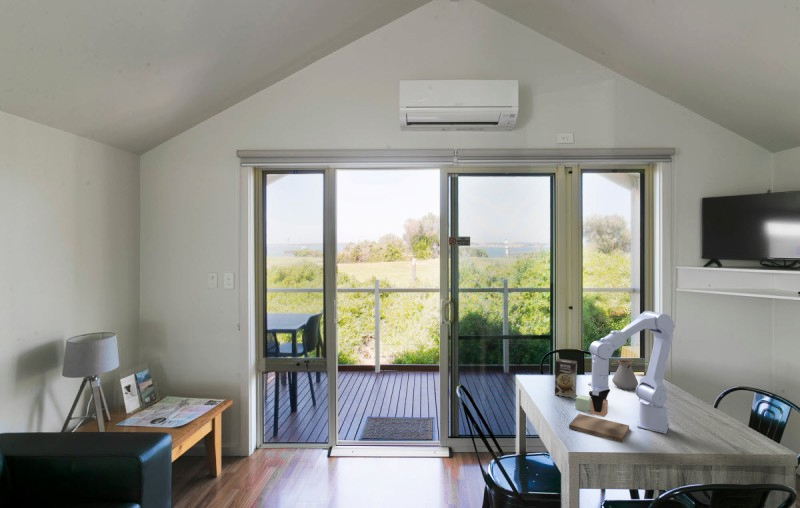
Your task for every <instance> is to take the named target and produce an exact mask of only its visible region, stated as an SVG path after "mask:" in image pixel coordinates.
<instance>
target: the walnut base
mask: <svg viewBox="0 0 800 508" xmlns="http://www.w3.org/2000/svg"><path fill="white" fill-rule="evenodd" d="M568 429H570V430H572V431H573V430H574V431H577V432H581V433H584V434H587V435H593V436H597V437H599V438H603V439H608V440H611V441H615V442H618V443H623V442H624V441H625V438H626V437H627V435H628V433H629V430H630V425H629V424H625V423H621V422H617V421H612V420H608V419H603V418H599V417H595V416H590V415H587V414H583V413H578V414H577V415H576V416H575V418H573V419H572V421H570V423H569V424H568Z"/></svg>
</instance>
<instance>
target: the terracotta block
mask: <svg viewBox="0 0 800 508" xmlns="http://www.w3.org/2000/svg"><path fill="white" fill-rule="evenodd" d="M608 403H609V401H608V399H604V401H603V405H602V410H601V412H595V411H594V407H593V402H592V399H591V400H590V410H589V414H590V415H594V416H599V417H602V418H606V416H607V415H608V413H609V412H608V411H609V409H608V407H609V406H608V405H609V404H608Z"/></svg>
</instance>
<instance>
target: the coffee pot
mask: <svg viewBox="0 0 800 508" xmlns="http://www.w3.org/2000/svg"><path fill="white" fill-rule="evenodd" d="M617 363H618V364H619V365H618V368H617V370H616V371H615V372H614V375H613V376H612V383H613V384H614V385H615V386H617V388H618V387H619V388H618V389H621V388H622V389H621V390H625V389H628V391H631V389H633V390H634V389H636V387H637V386H638V384H639V382H638V379H637V377H636V375H635V372H634V370H633V365H632V364H633V361H630V360H626V359H625V360H624V359H619V360H617Z"/></svg>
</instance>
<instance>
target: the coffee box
mask: <svg viewBox="0 0 800 508" xmlns="http://www.w3.org/2000/svg"><path fill="white" fill-rule="evenodd" d="M554 367H555V368H554V369H555V370H554V374H555V375H554V396H557V395H559V396H558V397H562V396H565V397H564V398H568V397H571V398H570V399H574V398H575V399H576V397H577V379H578V378H577V376H578V373H577V371H578V361H577V360H571V359H564V358H556V360H555V366H554Z"/></svg>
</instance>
